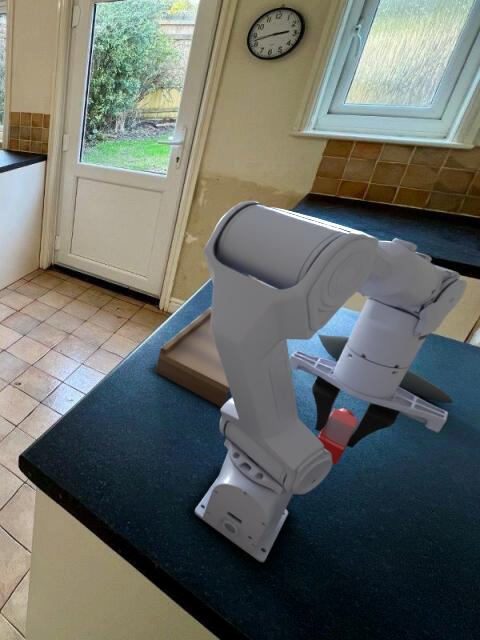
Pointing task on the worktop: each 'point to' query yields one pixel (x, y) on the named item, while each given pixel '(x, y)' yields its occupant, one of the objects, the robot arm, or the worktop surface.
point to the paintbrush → (408, 383)
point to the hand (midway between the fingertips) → (335, 434)
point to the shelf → (195, 361)
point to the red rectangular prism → (337, 432)
